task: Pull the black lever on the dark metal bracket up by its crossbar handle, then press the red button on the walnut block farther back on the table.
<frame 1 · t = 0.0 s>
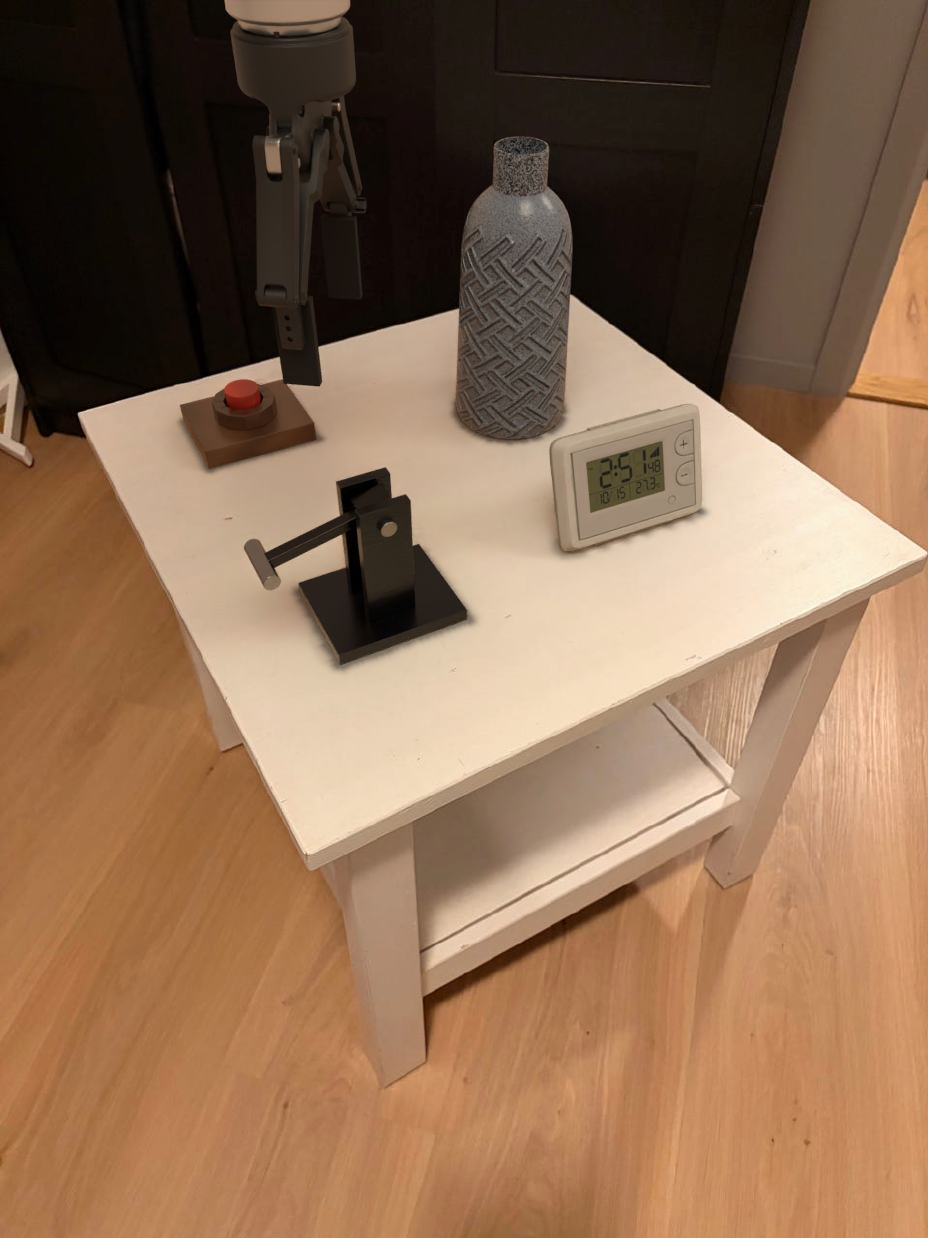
hand: (325, 337, 72), 22 cm above the table, tool pointing down, fingers open, 13 cm apart
digital clock: (621, 522, 91), on the table
button: (242, 394, 99), point 4 cm above the table, slide at 0.1 cm
lever: (322, 534, 74), point 10 cm above the table, hinge at -12.0°
vase: (509, 412, 105), on the table
button block: (249, 430, 102), on the table
bracket: (382, 605, 83), on the table
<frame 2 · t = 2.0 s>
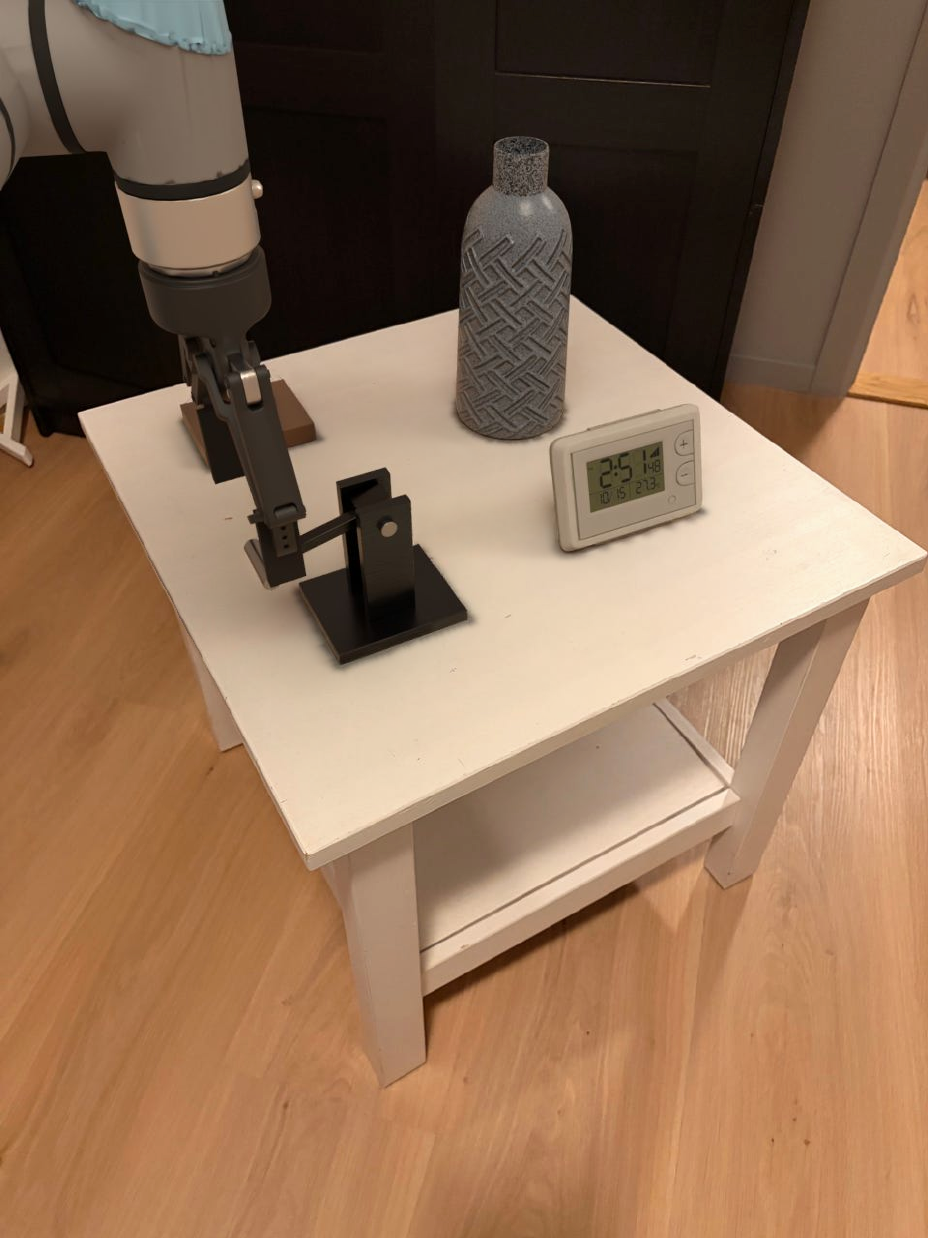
hand: (257, 525, 71), 13 cm above the table, tool pointing down, fingers open, 13 cm apart
nothing on the table moved.
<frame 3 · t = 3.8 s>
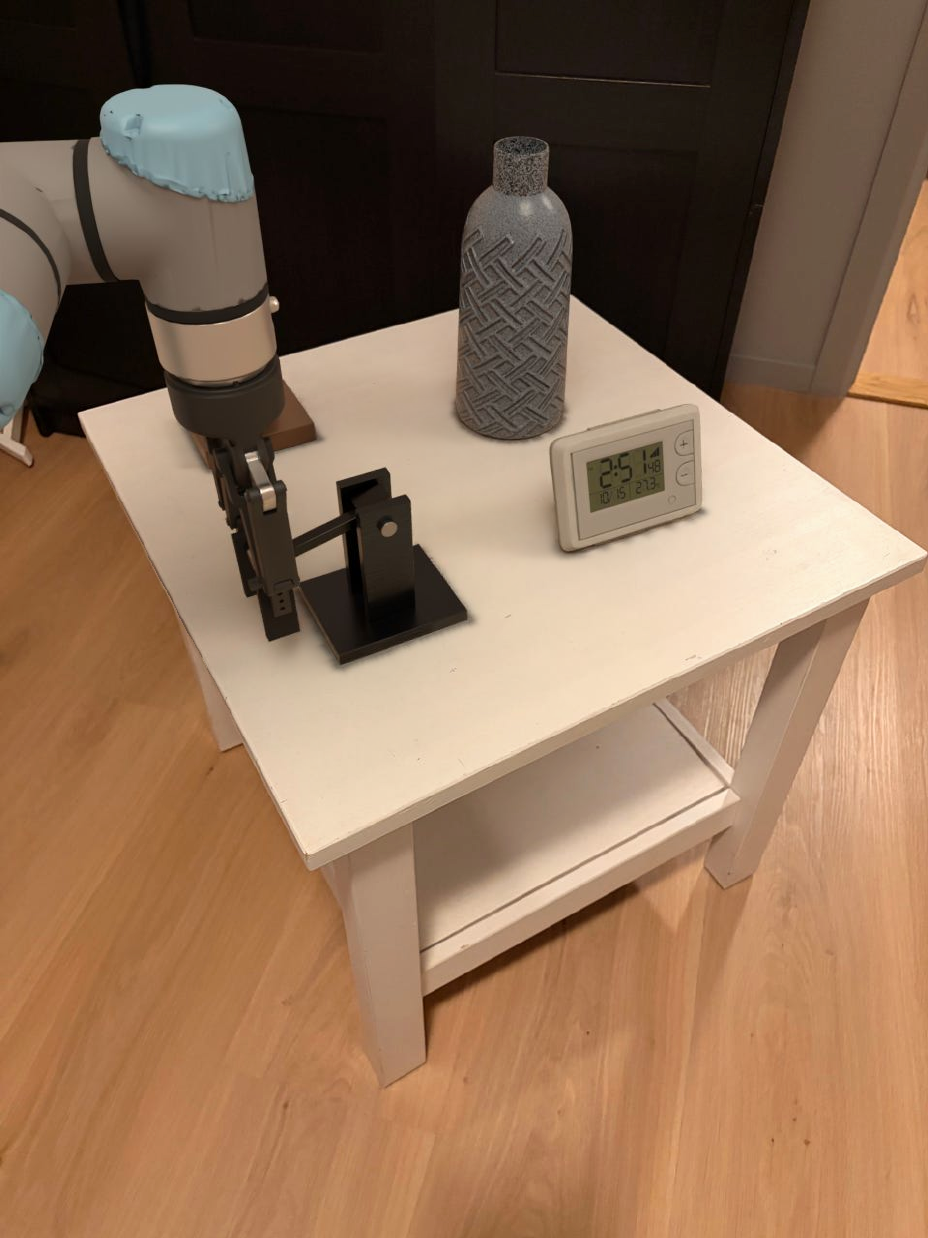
hand: (271, 611, 77), 4 cm above the table, tool pointing down, fingers closed on lever, 5 cm apart
lever: (322, 534, 74), point 10 cm above the table, hinge at -12.0°, touching gripper
everything else where it was.
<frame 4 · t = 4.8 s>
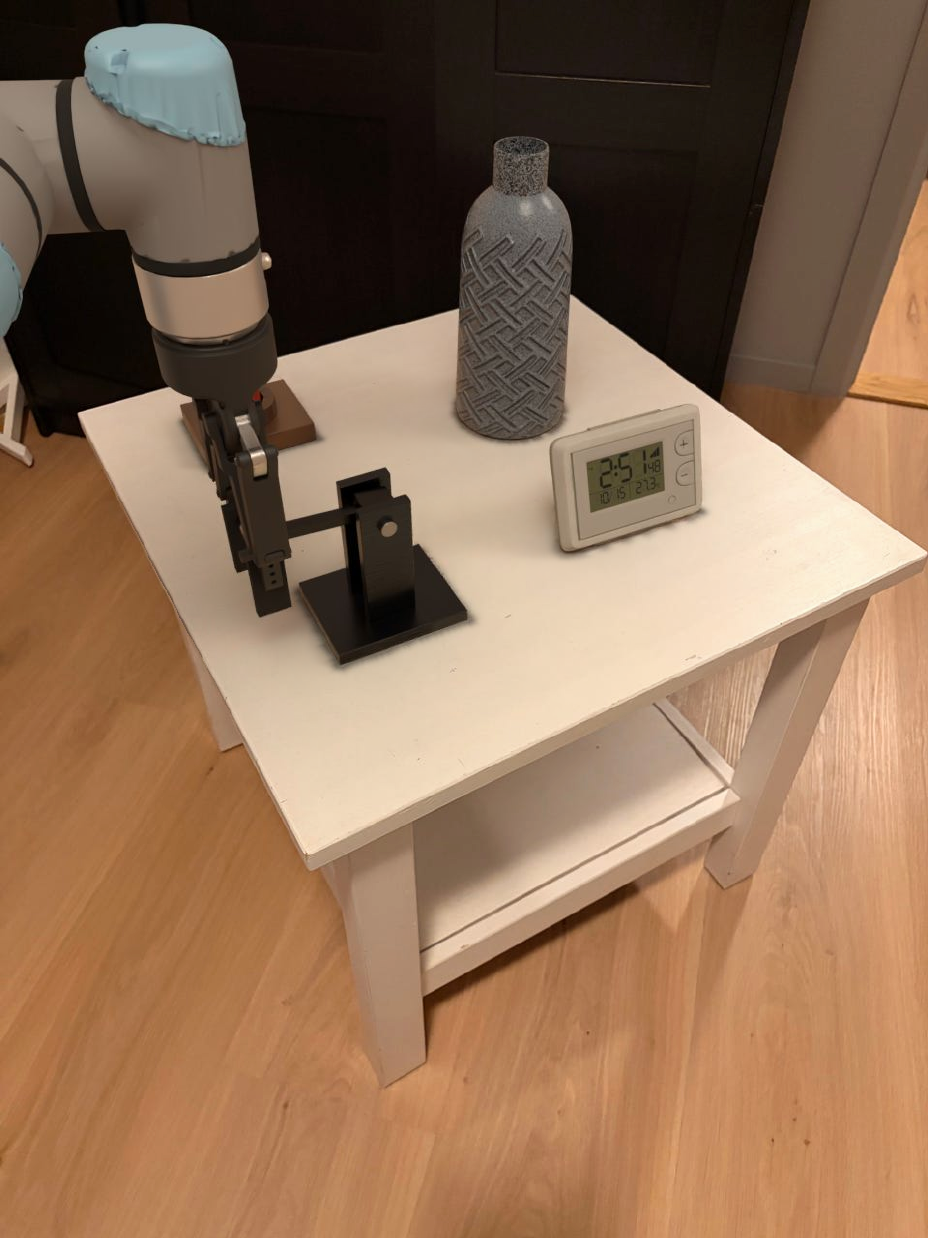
hand: (262, 586, 75), 7 cm above the table, tool pointing down, fingers closed on lever, 5 cm apart
lever: (319, 522, 73), point 11 cm above the table, hinge at 3.7°, touching gripper
everything else where it was.
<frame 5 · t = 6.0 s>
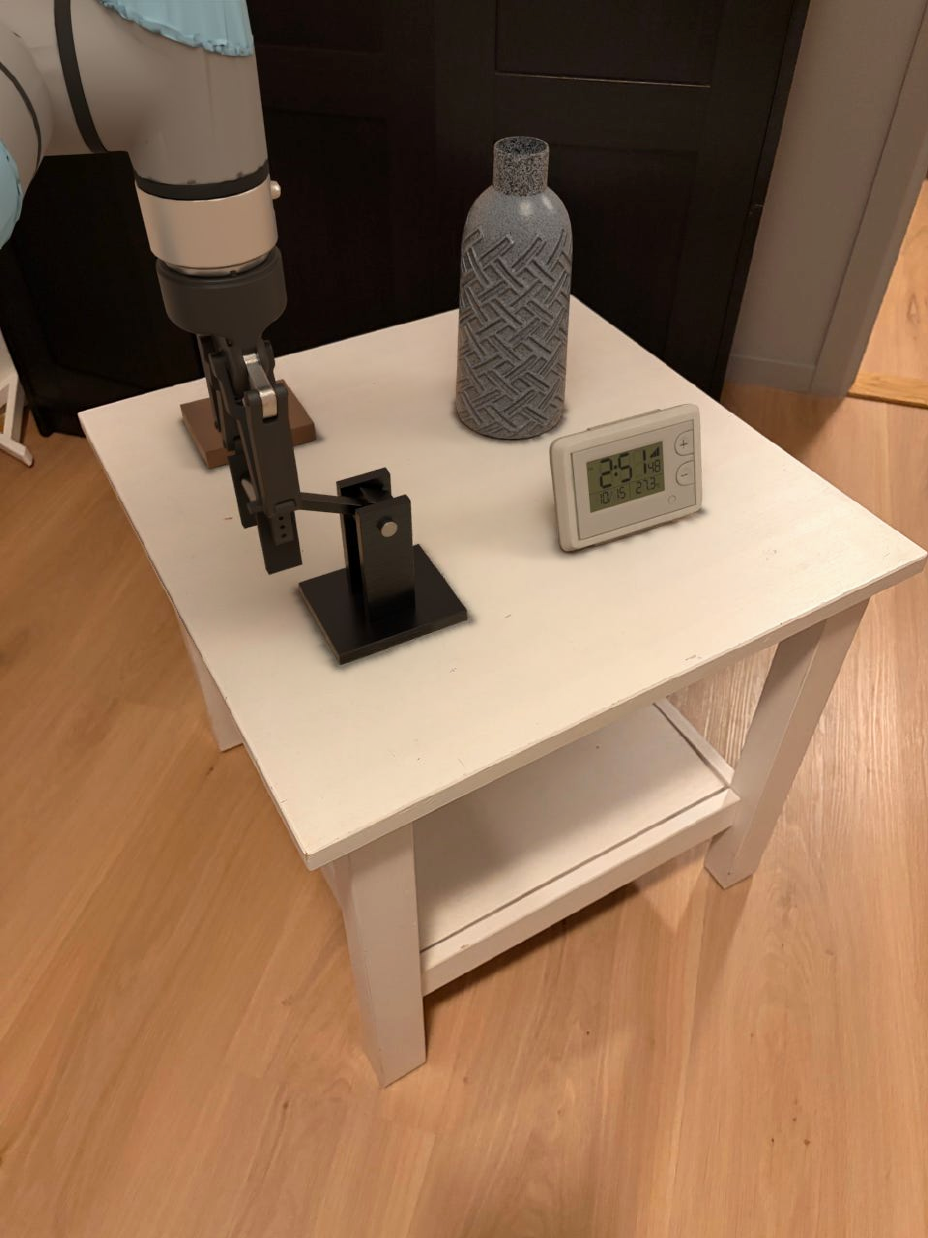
hand: (271, 543, 72), 11 cm above the table, tool pointing down, fingers open, 5 cm apart
lever: (323, 503, 72), point 13 cm above the table, hinge at 25.8°
everything else where it was.
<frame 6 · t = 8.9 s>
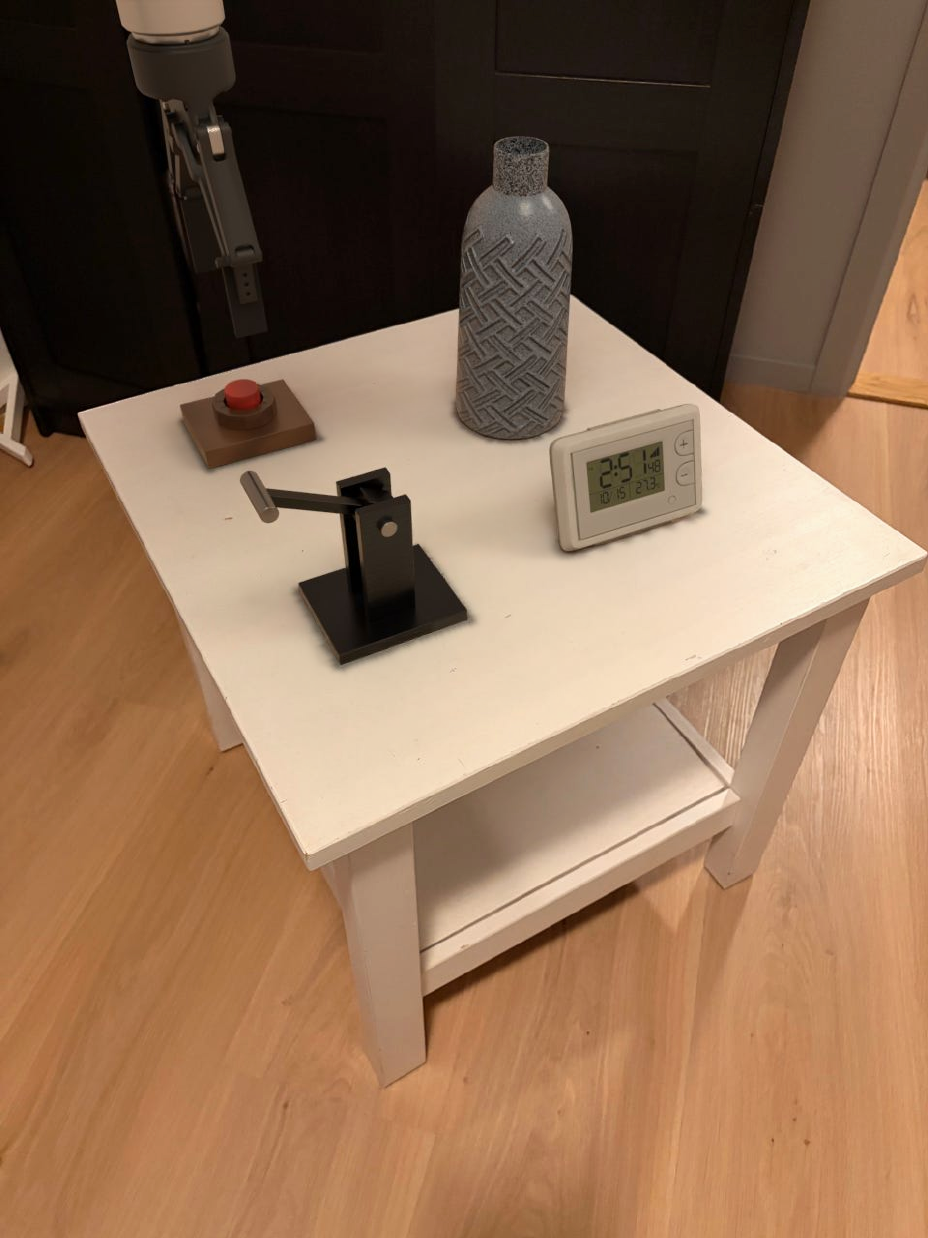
hand: (229, 299, 84), 19 cm above the table, tool pointing down, fingers open, 13 cm apart
nothing on the table moved.
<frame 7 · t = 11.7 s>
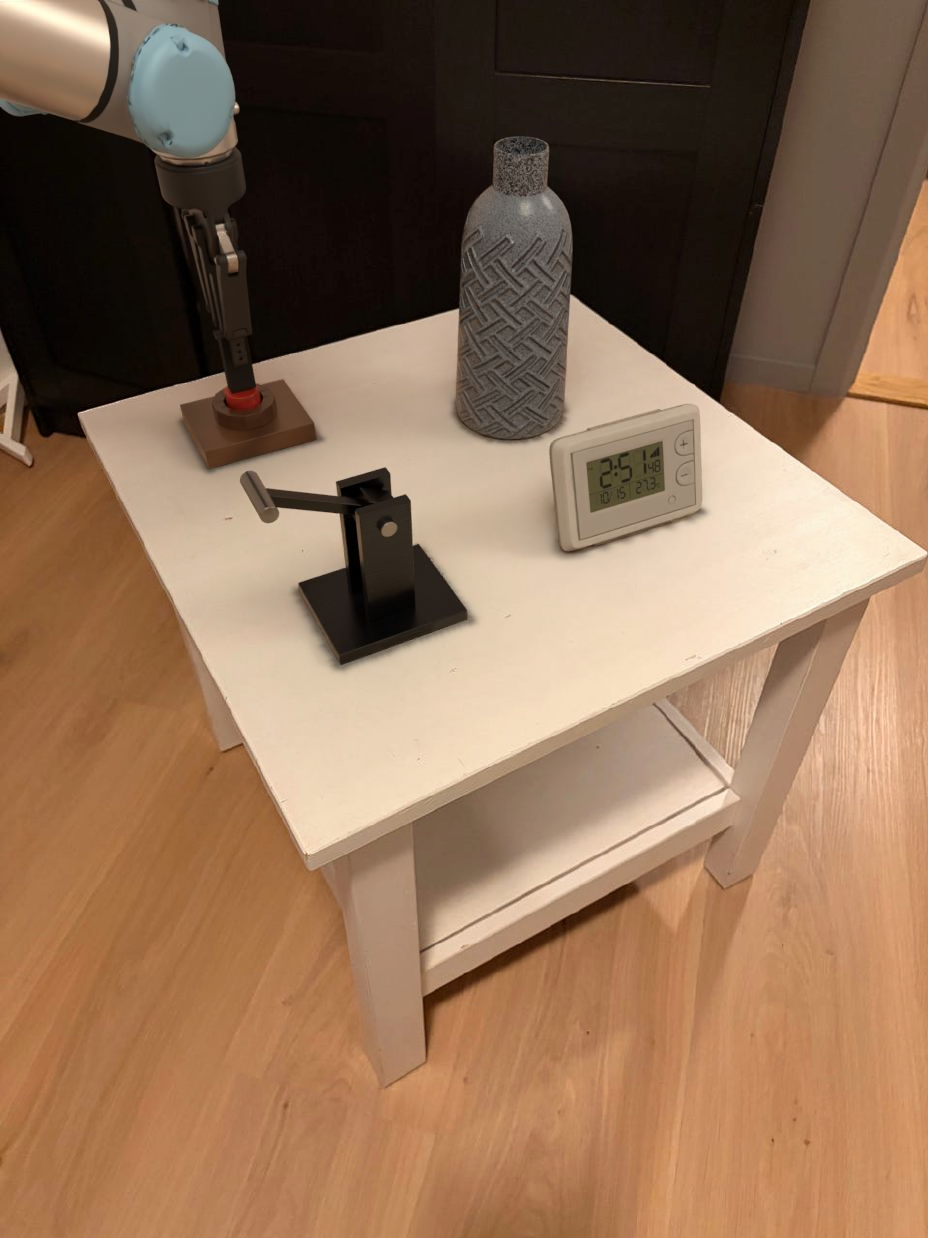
hand: (241, 386, 98), 5 cm above the table, tool pointing down, fingers closed
button: (242, 396, 99), point 4 cm above the table, slide at 0.0 cm, touching gripper
everything else where it was.
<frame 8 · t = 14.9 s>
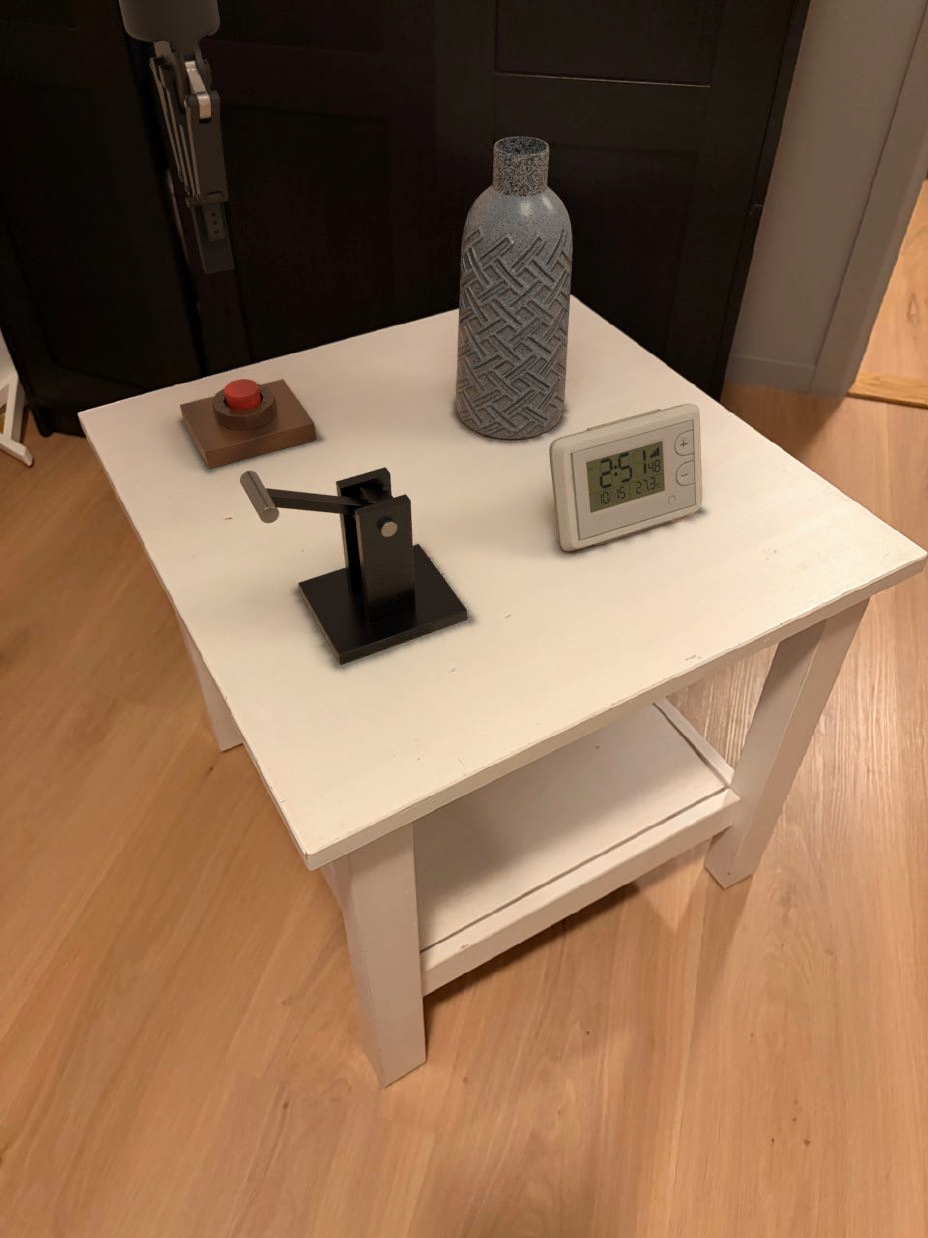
hand: (218, 268, 89), 18 cm above the table, tool pointing down, fingers closed
button: (242, 394, 99), point 4 cm above the table, slide at 0.1 cm
everything else where it was.
at the end: lever at +26° (first picture: -12°); button pushed in 1.0 cm at the most during the clip, back to where it started at the end; button slide at 0.1 cm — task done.
